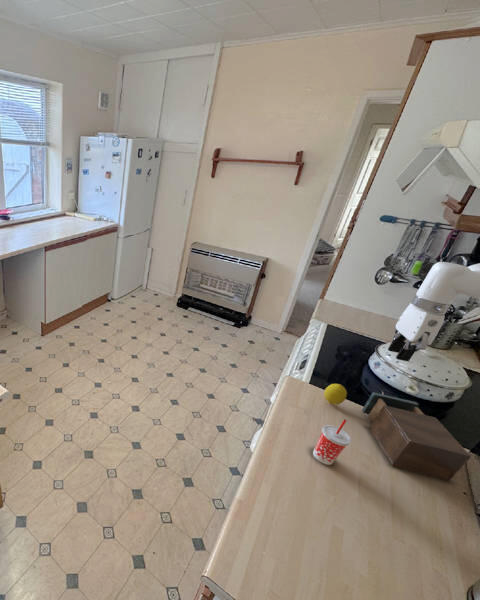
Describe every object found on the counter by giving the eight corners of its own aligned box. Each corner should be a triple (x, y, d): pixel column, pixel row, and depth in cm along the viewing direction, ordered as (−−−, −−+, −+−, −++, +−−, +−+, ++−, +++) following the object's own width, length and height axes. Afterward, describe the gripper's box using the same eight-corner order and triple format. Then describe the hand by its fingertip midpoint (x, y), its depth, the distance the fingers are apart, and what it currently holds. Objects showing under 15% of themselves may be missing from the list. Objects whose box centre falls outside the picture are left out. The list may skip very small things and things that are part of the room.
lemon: (341, 403, 108) (351, 385, 104) (338, 412, 104) (349, 393, 100) (321, 394, 111) (331, 376, 107) (319, 402, 107) (329, 384, 104)
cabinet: (368, 428, 99) (383, 404, 94) (417, 441, 95) (435, 417, 91) (391, 465, 87) (410, 440, 83) (448, 481, 84) (471, 456, 79)
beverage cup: (339, 470, 84) (364, 432, 78) (313, 462, 86) (335, 425, 80) (331, 451, 89) (354, 415, 83) (306, 444, 91) (327, 408, 85)
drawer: (355, 401, 108) (366, 383, 104) (396, 411, 105) (408, 393, 102) (380, 440, 93) (394, 420, 90) (428, 452, 91) (443, 433, 87)
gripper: (466, 320, 85) (428, 374, 93) (427, 295, 100) (397, 344, 108) (432, 314, 87) (397, 367, 95) (398, 291, 102) (371, 339, 110)
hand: (397, 355), depth 102 cm, fingers open, 4 cm apart
